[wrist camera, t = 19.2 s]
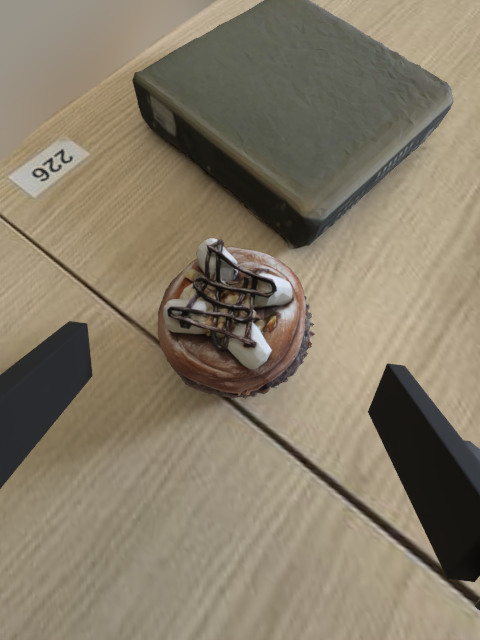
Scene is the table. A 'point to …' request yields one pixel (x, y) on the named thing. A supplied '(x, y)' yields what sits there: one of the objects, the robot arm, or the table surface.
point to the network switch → (292, 111)
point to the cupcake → (234, 322)
